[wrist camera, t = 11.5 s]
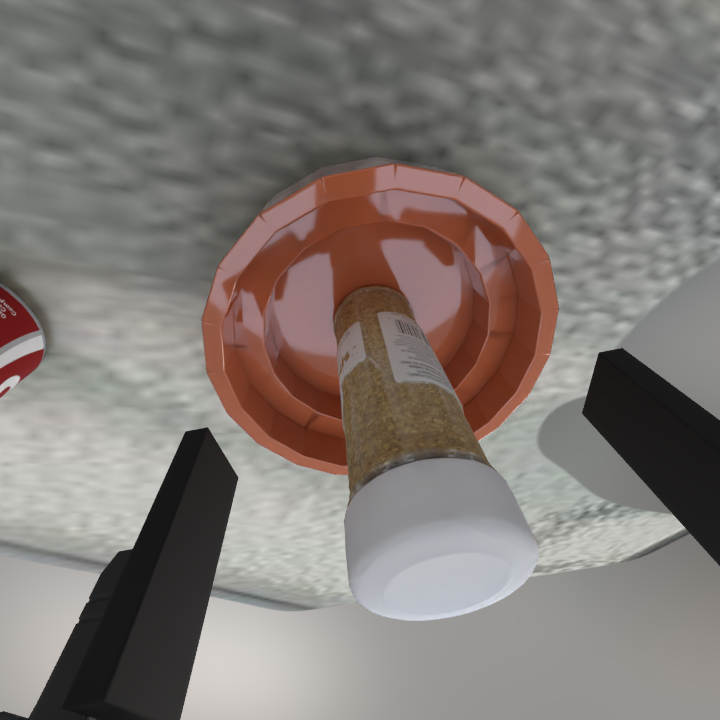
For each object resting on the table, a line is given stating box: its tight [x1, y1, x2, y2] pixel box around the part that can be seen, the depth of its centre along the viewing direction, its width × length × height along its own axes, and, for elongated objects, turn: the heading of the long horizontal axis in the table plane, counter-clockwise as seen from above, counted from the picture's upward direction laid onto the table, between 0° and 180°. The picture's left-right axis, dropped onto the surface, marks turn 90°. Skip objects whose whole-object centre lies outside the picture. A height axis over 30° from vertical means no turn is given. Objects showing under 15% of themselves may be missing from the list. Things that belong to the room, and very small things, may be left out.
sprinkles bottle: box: [333, 286, 538, 621], centre depth 13 cm, size 5×5×13 cm
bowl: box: [202, 157, 559, 475], centre depth 18 cm, size 16×16×5 cm
